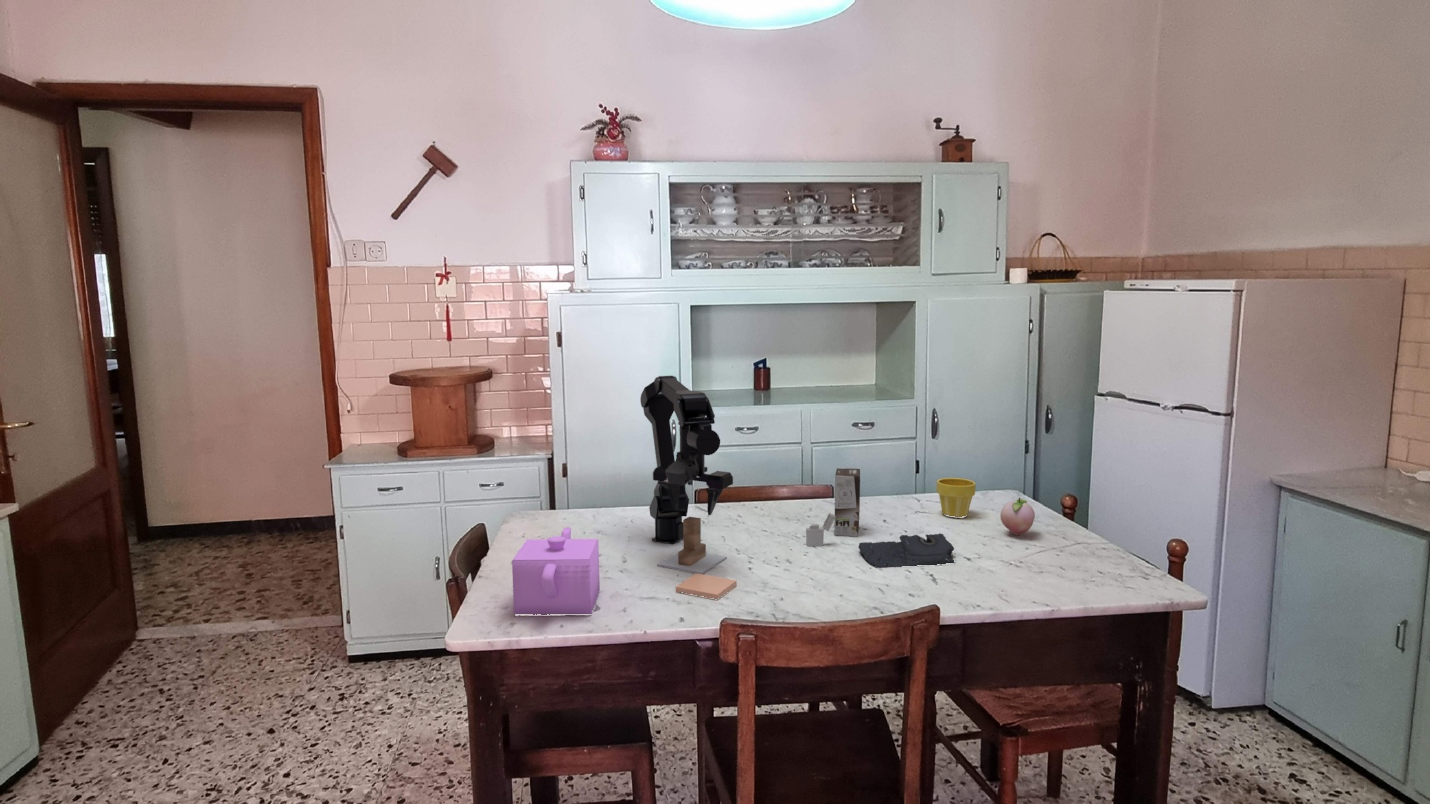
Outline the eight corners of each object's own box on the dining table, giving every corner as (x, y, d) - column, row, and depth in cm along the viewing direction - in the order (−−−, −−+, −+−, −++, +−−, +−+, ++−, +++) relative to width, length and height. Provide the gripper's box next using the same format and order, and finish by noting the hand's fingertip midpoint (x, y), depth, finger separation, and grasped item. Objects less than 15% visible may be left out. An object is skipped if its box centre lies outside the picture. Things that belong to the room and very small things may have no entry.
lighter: (807, 546, 200) (807, 515, 199) (805, 544, 202) (806, 513, 201) (835, 545, 201) (835, 514, 200) (833, 543, 202) (834, 512, 201)
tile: (696, 580, 179) (675, 594, 171) (696, 573, 178) (675, 586, 170) (736, 587, 174) (717, 602, 166) (736, 580, 174) (717, 594, 166)
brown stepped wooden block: (678, 564, 186) (677, 522, 185) (694, 554, 193) (694, 513, 192) (689, 566, 185) (689, 524, 183) (705, 556, 192) (705, 515, 190)
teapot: (603, 579, 178) (602, 518, 176) (587, 626, 154) (585, 556, 152) (535, 580, 178) (533, 518, 176) (508, 627, 154) (505, 556, 152)
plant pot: (948, 508, 234) (949, 475, 232) (981, 515, 226) (982, 481, 225) (928, 515, 227) (929, 481, 225) (961, 523, 219) (963, 488, 218)
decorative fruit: (1001, 528, 214) (1003, 491, 213) (1034, 532, 211) (1036, 495, 209) (997, 538, 206) (999, 500, 204) (1031, 542, 202) (1033, 503, 201)
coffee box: (858, 537, 207) (860, 476, 205) (833, 535, 209) (834, 475, 206) (859, 526, 216) (860, 468, 214) (835, 525, 217) (836, 467, 215)
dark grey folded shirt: (851, 549, 199) (852, 530, 198) (936, 545, 202) (937, 527, 201) (872, 571, 184) (872, 551, 183) (963, 566, 187) (964, 546, 186)
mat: (657, 565, 187) (657, 563, 187) (683, 550, 197) (683, 549, 197) (702, 574, 181) (702, 572, 181) (726, 558, 191) (726, 556, 191)
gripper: (638, 449, 183) (640, 515, 185) (710, 457, 174) (710, 527, 177) (665, 441, 193) (665, 504, 195) (734, 448, 184) (734, 514, 186)
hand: (692, 512), depth 188 cm, fingers open, 9 cm apart
